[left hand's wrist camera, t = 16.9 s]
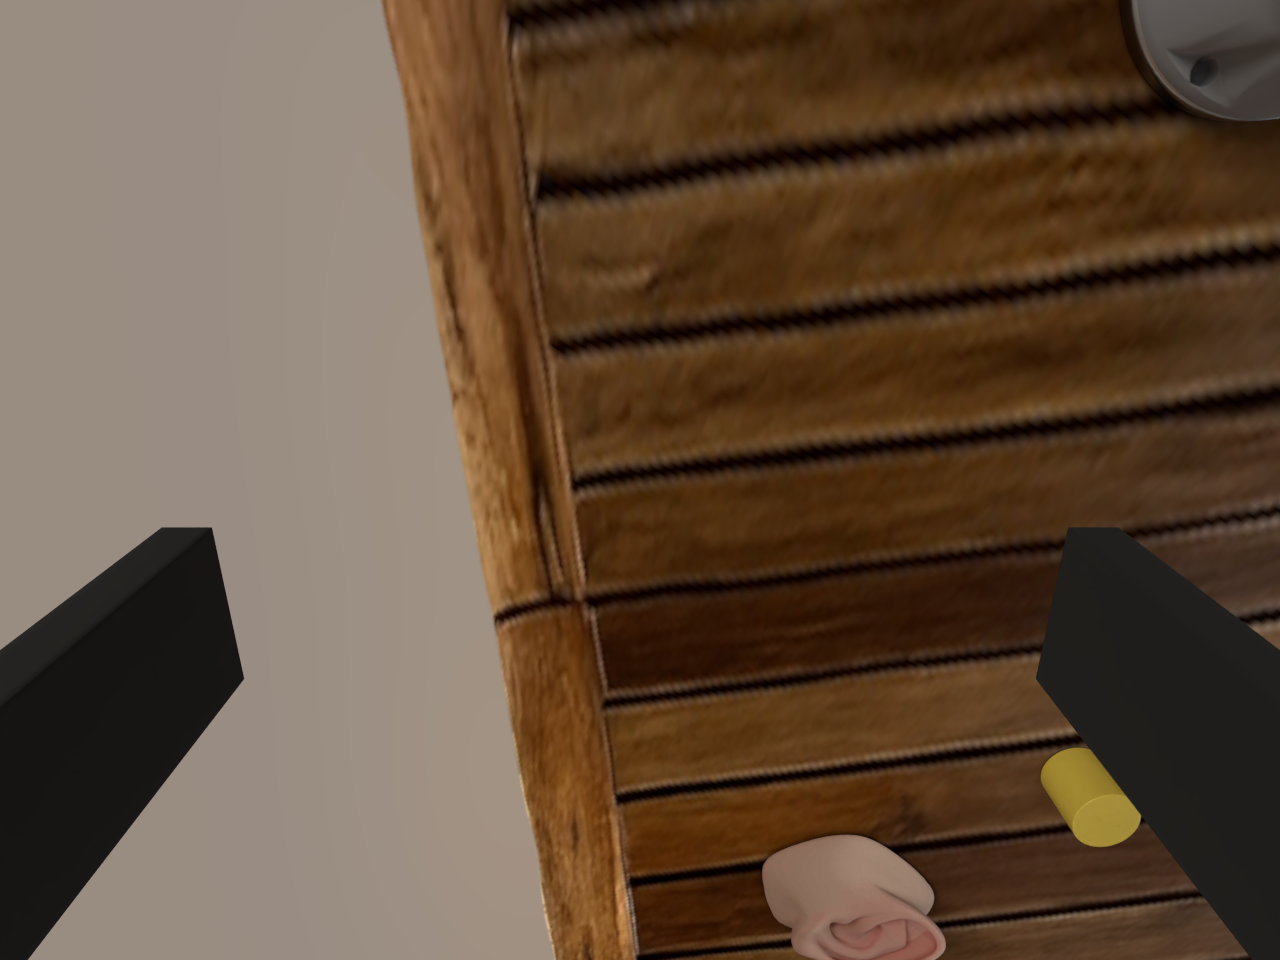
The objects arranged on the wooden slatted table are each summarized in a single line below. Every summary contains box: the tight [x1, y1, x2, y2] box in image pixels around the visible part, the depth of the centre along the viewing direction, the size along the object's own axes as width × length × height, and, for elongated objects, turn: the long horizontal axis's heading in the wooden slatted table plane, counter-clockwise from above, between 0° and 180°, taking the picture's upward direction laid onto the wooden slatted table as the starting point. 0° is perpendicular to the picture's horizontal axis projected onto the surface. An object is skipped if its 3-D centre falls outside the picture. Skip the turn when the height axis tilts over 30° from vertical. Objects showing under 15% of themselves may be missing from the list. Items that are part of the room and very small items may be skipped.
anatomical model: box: [762, 834, 946, 960], centre depth 61 cm, size 13×4×12 cm
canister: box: [1041, 748, 1141, 847], centre depth 57 cm, size 5×5×5 cm
